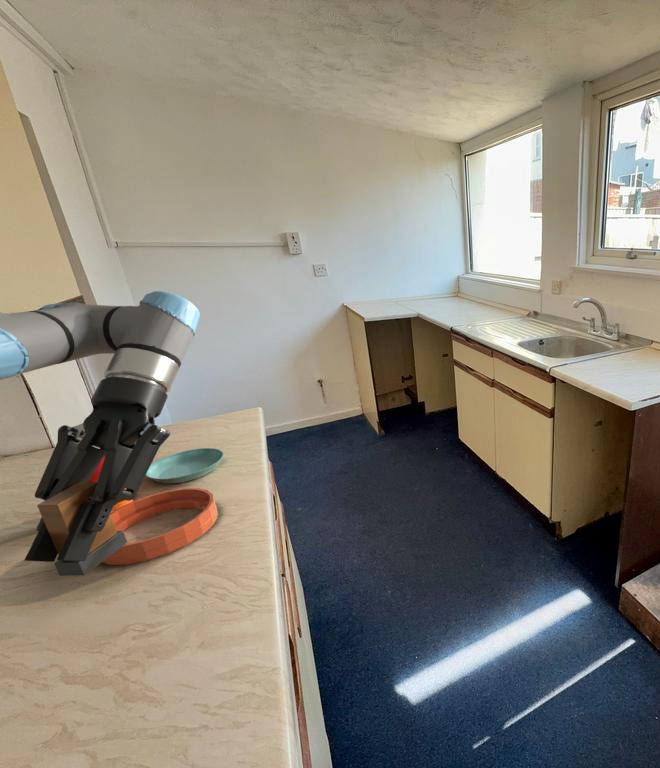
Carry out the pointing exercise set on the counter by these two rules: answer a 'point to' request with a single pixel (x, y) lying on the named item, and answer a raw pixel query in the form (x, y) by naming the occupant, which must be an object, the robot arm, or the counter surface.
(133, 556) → the bowl
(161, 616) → the counter surface
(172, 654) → the counter surface
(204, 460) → the saucer
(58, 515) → the eraser
